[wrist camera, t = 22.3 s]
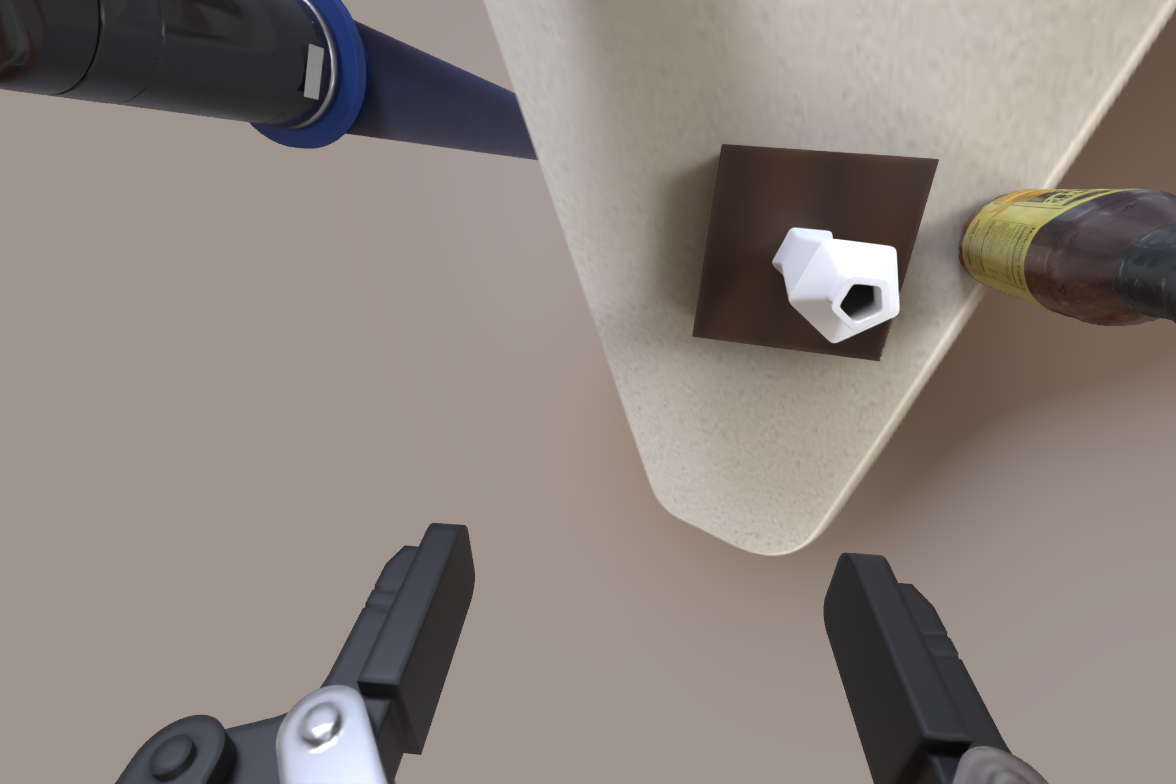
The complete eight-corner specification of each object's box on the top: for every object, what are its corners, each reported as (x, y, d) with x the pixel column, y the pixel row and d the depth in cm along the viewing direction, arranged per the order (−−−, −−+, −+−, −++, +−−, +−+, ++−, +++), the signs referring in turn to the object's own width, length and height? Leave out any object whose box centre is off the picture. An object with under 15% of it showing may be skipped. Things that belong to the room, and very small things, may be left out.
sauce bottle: (1082, 208, 35) (1478, 234, 17) (1020, 299, 37) (1304, 406, 19) (982, 173, 35) (1261, 161, 17) (927, 264, 38) (1120, 338, 20)
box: (695, 320, 43) (692, 336, 38) (721, 149, 38) (721, 144, 34) (861, 341, 41) (880, 361, 36) (911, 162, 36) (939, 159, 31)
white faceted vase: (761, 289, 36) (787, 352, 22) (774, 220, 34) (813, 243, 21) (833, 298, 35) (907, 369, 22) (851, 228, 34) (943, 256, 20)
